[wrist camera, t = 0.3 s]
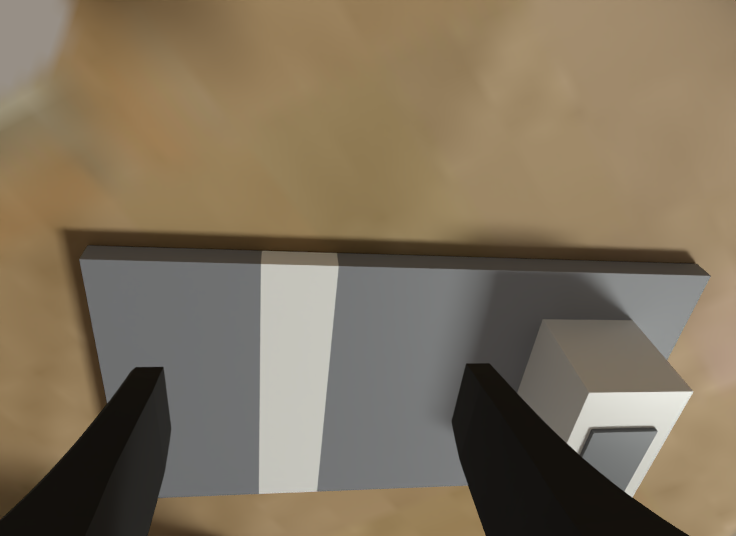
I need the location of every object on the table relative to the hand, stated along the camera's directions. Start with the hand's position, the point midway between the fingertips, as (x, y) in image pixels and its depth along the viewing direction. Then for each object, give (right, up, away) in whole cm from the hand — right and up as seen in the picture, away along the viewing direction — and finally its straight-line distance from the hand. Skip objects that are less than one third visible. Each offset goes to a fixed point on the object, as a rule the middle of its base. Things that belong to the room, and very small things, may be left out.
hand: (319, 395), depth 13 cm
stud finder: (+11, -3, +14) cm, 18 cm away
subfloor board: (+3, -2, +13) cm, 14 cm away
